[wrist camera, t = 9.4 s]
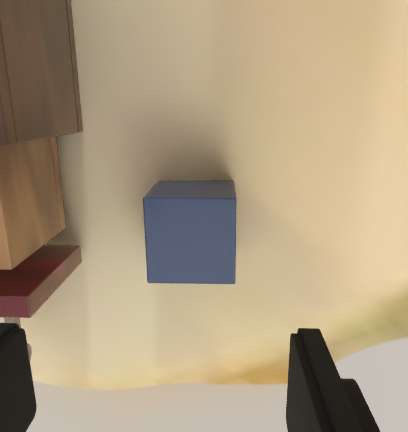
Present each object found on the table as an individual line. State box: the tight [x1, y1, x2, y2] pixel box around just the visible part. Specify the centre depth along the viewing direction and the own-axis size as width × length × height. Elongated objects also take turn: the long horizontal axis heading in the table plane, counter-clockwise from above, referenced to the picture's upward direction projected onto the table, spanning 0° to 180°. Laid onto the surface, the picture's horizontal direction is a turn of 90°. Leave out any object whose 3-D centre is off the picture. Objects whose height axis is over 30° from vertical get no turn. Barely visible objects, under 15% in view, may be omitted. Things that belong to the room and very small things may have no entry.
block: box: [143, 181, 236, 284], centre depth 24 cm, size 5×5×5 cm
